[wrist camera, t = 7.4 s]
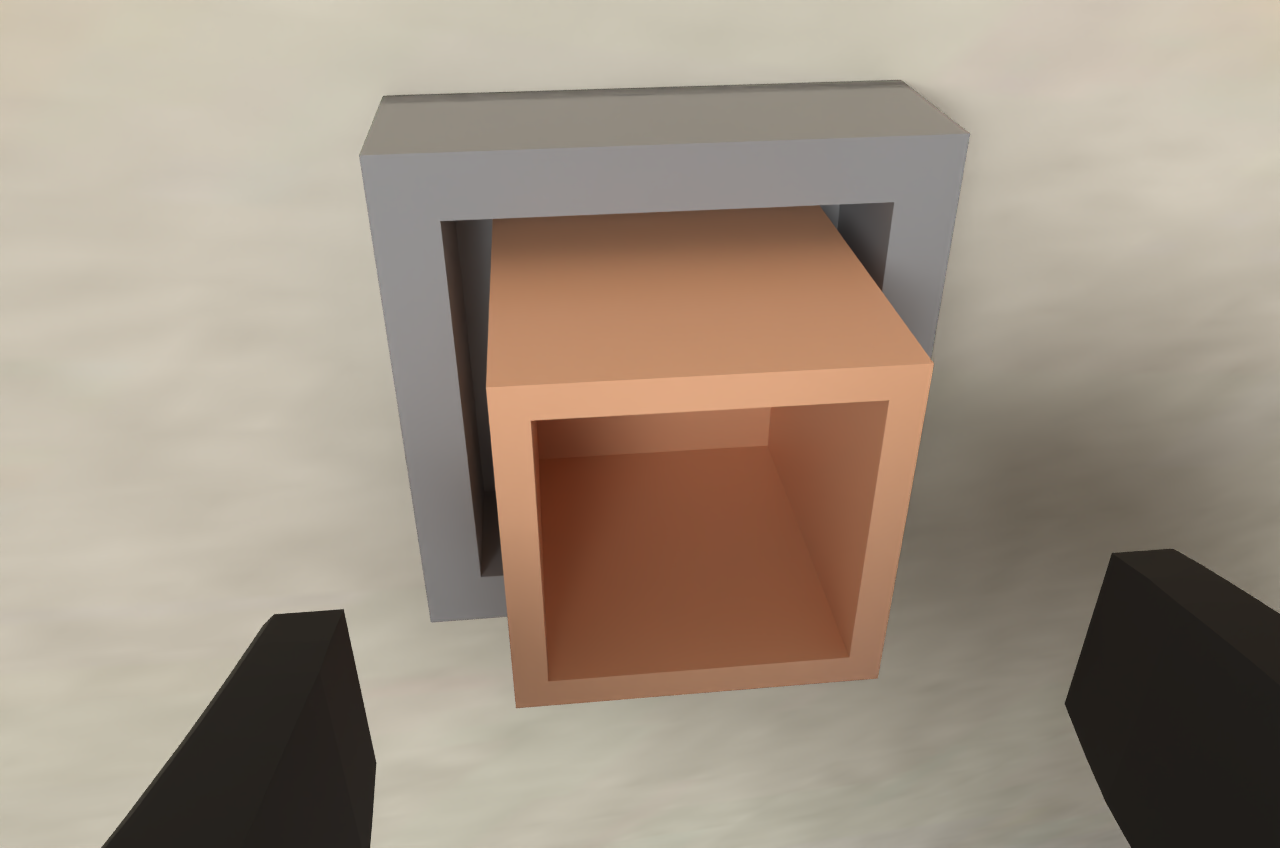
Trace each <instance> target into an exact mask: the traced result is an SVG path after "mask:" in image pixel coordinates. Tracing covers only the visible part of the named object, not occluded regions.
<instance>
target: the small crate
mask: <svg viewBox="0 0 1280 848" xmlns="http://www.w3.org/2000/svg"><path fill="white" fill-rule="evenodd" d="M933 366H934V363H933V361H932V360H931V359H930V357H929V356H928V355H927V353H926V352H925V350H924V349H923V348H922V346H921V345H920V344H919V342H918V341H917V339H916V338H915V337H914V335H913V334H912V333H911V331H910V330H909V328H908V327H907V326H906V324H905V323H904V321H903V320H902V319H901V317H900V316H899V315H898V313H897V312H896V310H895V309H894V308H893V306H892V305H891V304H890V302H889V301H888V299H887V298H886V297H885V295H884V294H883V292H882V291H881V290H880V288H879V287H878V286H877V284H876V283H875V281H874V280H873V279H872V277H871V276H870V275H869V273H868V272H867V270H866V269H865V268H864V266H863V265H862V263H861V262H860V261H859V259H858V258H857V257H856V255H855V254H854V252H853V251H852V250H851V248H850V247H849V246H848V244H847V243H846V241H845V240H844V239H843V237H842V236H841V234H840V233H839V232H838V230H837V229H836V228H835V226H834V225H833V223H832V222H831V221H830V219H829V218H828V217H827V215H826V214H825V212H824V211H823V210H822V208H821V207H820V205H814V206H790V207H766V208H742V209H718V210H694V211H671V212H647V213H623V214H599V215H575V216H551V217H527V218H503V219H493V222H492V248H491V273H490V299H489V324H488V350H487V375H486V393H487V403H488V414H489V425H490V435H491V446H492V457H493V467H494V478H495V489H496V499H497V510H498V521H499V531H500V542H501V553H502V563H503V574H504V585H505V595H506V606H507V617H508V627H509V638H510V649H511V659H512V670H513V681H514V691H515V702H516V708H524V707H536V706H548V705H561V704H573V703H585V702H597V701H609V700H621V699H633V698H646V697H658V696H670V695H682V694H694V693H706V692H719V691H731V690H743V689H755V688H767V687H779V686H791V685H804V684H816V683H828V682H840V681H852V680H864V679H876V678H878V674H879V668H880V663H881V657H882V651H883V646H884V640H885V635H886V629H887V623H888V618H889V612H890V607H891V601H892V596H893V590H894V584H895V579H896V573H897V568H898V562H899V556H900V551H901V545H902V540H903V534H904V528H905V523H906V517H907V512H908V506H909V500H910V495H911V489H912V484H913V478H914V472H915V467H916V461H917V456H918V450H919V444H920V439H921V433H922V428H923V422H924V417H925V411H926V405H927V400H928V394H929V389H930V383H931V377H932V372H933Z"/></svg>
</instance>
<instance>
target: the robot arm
mask: <svg viewBox="0 0 1280 848" xmlns="http://www.w3.org/2000/svg"><path fill="white" fill-rule="evenodd" d="M1065 706H1066V708H1067V711H1068V713H1069V716H1070V718H1071V721H1072V723H1073V726H1074V728H1075V731H1076V733H1077V736H1078V738H1079V741H1080V743H1081V746H1082V748H1083V751H1084V753H1085V756H1086V758H1087V760H1088V763H1089V765H1090V767H1091V770H1092V772H1093V774H1094V776H1095V779H1096V781H1097V783H1098V785H1099V788H1100V790H1101V792H1102V795H1103V797H1104V799H1105V801H1106V803H1107V805H1108V807H1109V809H1110V811H1111V812H1112V814H1113V816H1114V818H1115V820H1116V821H1117V823H1118V825H1119V827H1120V829H1121V830H1122V832H1123V834H1124V836H1125V837H1126V839H1127V841H1128V843H1129V844H1130V846H1131V848H1280V614H1279V613H1277V612H1276V611H1274V610H1273V609H1271V608H1270V607H1268V606H1267V605H1265V604H1263V603H1262V602H1260V601H1259V600H1257V599H1256V598H1254V597H1252V596H1251V595H1249V594H1248V593H1246V592H1244V591H1243V590H1241V589H1240V588H1238V587H1237V586H1235V585H1233V584H1232V583H1230V582H1229V581H1227V580H1225V579H1224V578H1222V577H1220V576H1219V575H1217V574H1216V573H1214V572H1212V571H1211V570H1209V569H1207V568H1206V567H1204V566H1202V565H1201V564H1199V563H1197V562H1195V561H1194V560H1192V559H1190V558H1188V557H1187V556H1185V555H1183V554H1181V553H1180V552H1178V551H1176V550H1174V549H1163V550H1149V551H1135V552H1122V553H1112V555H1111V558H1110V561H1109V565H1108V568H1107V571H1106V574H1105V577H1104V580H1103V584H1102V587H1101V590H1100V593H1099V596H1098V600H1097V603H1096V606H1095V609H1094V612H1093V615H1092V619H1091V622H1090V625H1089V628H1088V631H1087V634H1086V638H1085V641H1084V644H1083V647H1082V650H1081V654H1080V657H1079V660H1078V663H1077V666H1076V669H1075V673H1074V676H1073V679H1072V682H1071V685H1070V688H1069V692H1068V695H1067V698H1066V701H1065ZM375 774H376V759H375V755H374V750H373V745H372V741H371V736H370V731H369V727H368V722H367V717H366V712H365V708H364V703H363V698H362V694H361V689H360V684H359V680H358V675H357V670H356V665H355V661H354V656H353V651H352V647H351V642H350V637H349V632H348V628H347V623H346V618H345V614H344V609H341V610H328V611H314V612H300V613H287V614H274V615H273V616H272V617H271V618H270V619H269V620H268V621H267V622H266V623H265V624H264V625H263V627H262V628H261V629H260V631H259V632H258V634H257V635H256V637H255V638H254V640H253V641H252V643H251V644H250V646H249V647H248V649H247V650H246V652H245V653H244V654H243V656H242V657H241V659H240V660H239V662H238V663H237V665H236V666H235V668H234V669H233V671H232V672H231V673H230V675H229V676H228V678H227V679H226V681H225V682H224V684H223V685H222V686H221V688H220V689H219V691H218V692H217V694H216V695H215V696H214V698H213V699H212V701H211V702H210V704H209V705H208V706H207V708H206V709H205V711H204V712H203V713H202V715H201V716H200V718H199V719H198V720H197V722H196V723H195V725H194V726H193V727H192V729H191V730H190V732H189V733H188V734H187V736H186V737H185V739H184V740H183V741H182V743H181V744H180V745H179V747H178V748H177V749H176V751H175V752H174V753H173V755H172V756H171V757H170V759H169V760H168V761H167V763H166V764H165V765H164V767H163V768H162V769H161V771H160V772H159V773H158V775H157V776H156V777H155V779H154V780H153V781H152V783H151V784H150V785H149V786H148V788H147V789H146V790H145V792H144V793H143V794H142V796H141V797H140V798H139V800H138V801H137V802H136V804H135V805H134V806H133V808H132V809H131V810H130V812H129V813H128V814H127V816H126V817H125V818H124V820H123V821H122V822H121V823H120V825H119V826H118V827H117V828H116V830H115V831H114V832H113V834H112V835H111V836H110V837H109V839H108V840H107V841H106V842H105V844H104V845H103V846H102V847H101V848H370V842H371V830H372V817H373V803H374V788H375Z"/></svg>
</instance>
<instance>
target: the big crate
mask: <svg viewBox="0 0 1280 848" xmlns="http://www.w3.org/2000/svg"><path fill="white" fill-rule="evenodd" d="M969 137H970V133H969V132H967V131H966V130H965V129H963V128H962V127H961V126H960V125H958V124H957V123H956V122H954V121H953V120H952V119H951V118H949V117H948V116H947V115H945V114H944V113H943V112H941V111H940V110H939V109H938V108H936V107H935V106H934V105H932V104H931V103H930V102H929V101H927V100H926V99H925V98H923V97H922V96H921V95H919V94H918V93H917V92H916V91H914V90H913V89H912V88H910V87H909V86H908V85H907V84H905V83H904V82H903V81H901V80H887V81H854V82H822V83H789V84H757V85H724V86H691V87H659V88H626V89H594V90H561V91H528V92H496V93H463V94H431V95H398V96H383V97H382V100H381V102H380V105H379V107H378V110H377V112H376V115H375V117H374V120H373V122H372V125H371V127H370V130H369V132H368V135H367V137H366V140H365V142H364V145H363V147H362V150H361V152H360V155H359V157H360V164H361V170H362V177H363V183H364V190H365V196H366V203H367V209H368V216H369V222H370V229H371V235H372V242H373V248H374V255H375V261H376V268H377V274H378V281H379V287H380V294H381V300H382V307H383V313H384V320H385V326H386V333H387V339H388V346H389V352H390V359H391V365H392V372H393V378H394V385H395V391H396V398H397V404H398V411H399V417H400V424H401V430H402V437H403V443H404V450H405V456H406V463H407V469H408V476H409V482H410V489H411V495H412V502H413V508H414V515H415V521H416V528H417V534H418V541H419V547H420V554H421V560H422V567H423V573H424V580H425V586H426V593H427V599H428V606H429V612H430V619H431V622H443V621H456V620H469V619H482V618H495V617H507V606H506V595H505V585H504V574H503V563H502V553H501V542H500V531H499V521H498V510H497V499H496V489H495V478H494V467H493V457H492V446H491V435H490V425H489V414H488V403H487V393H486V375H487V350H488V324H489V299H490V273H491V248H492V222H493V219H503V218H527V217H551V216H575V215H599V214H623V213H647V212H671V211H694V210H718V209H742V208H766V207H790V206H814V205H820V207H821V208H822V210H823V211H824V212H825V214H826V215H827V217H828V218H829V219H830V221H831V222H832V223H833V225H834V226H835V228H836V229H837V230H838V232H839V233H840V234H841V236H842V237H843V239H844V240H845V241H846V243H847V244H848V246H849V247H850V248H851V250H852V251H853V252H854V254H855V255H856V257H857V258H858V259H859V261H860V262H861V263H862V265H863V266H864V268H865V269H866V270H867V272H868V273H869V275H870V276H871V277H872V279H873V280H874V281H875V283H876V284H877V286H878V287H879V288H880V290H881V291H882V292H883V294H884V295H885V297H886V298H887V299H888V301H889V302H890V304H891V305H892V306H893V308H894V309H895V310H896V312H897V313H898V315H899V316H900V317H901V319H902V320H903V321H904V323H905V324H906V326H907V327H908V328H909V330H910V331H911V333H912V334H913V335H914V337H915V338H916V339H917V341H918V342H919V344H920V345H921V346H922V348H923V349H924V350H925V352H926V353H927V355H928V356H929V357H930V359H931V356H932V351H933V345H934V339H935V333H936V327H937V322H938V316H939V310H940V304H941V299H942V293H943V287H944V281H945V275H946V270H947V264H948V258H949V252H950V246H951V241H952V235H953V229H954V223H955V218H956V212H957V206H958V200H959V194H960V189H961V183H962V177H963V171H964V165H965V160H966V154H967V148H968V142H969Z"/></svg>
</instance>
